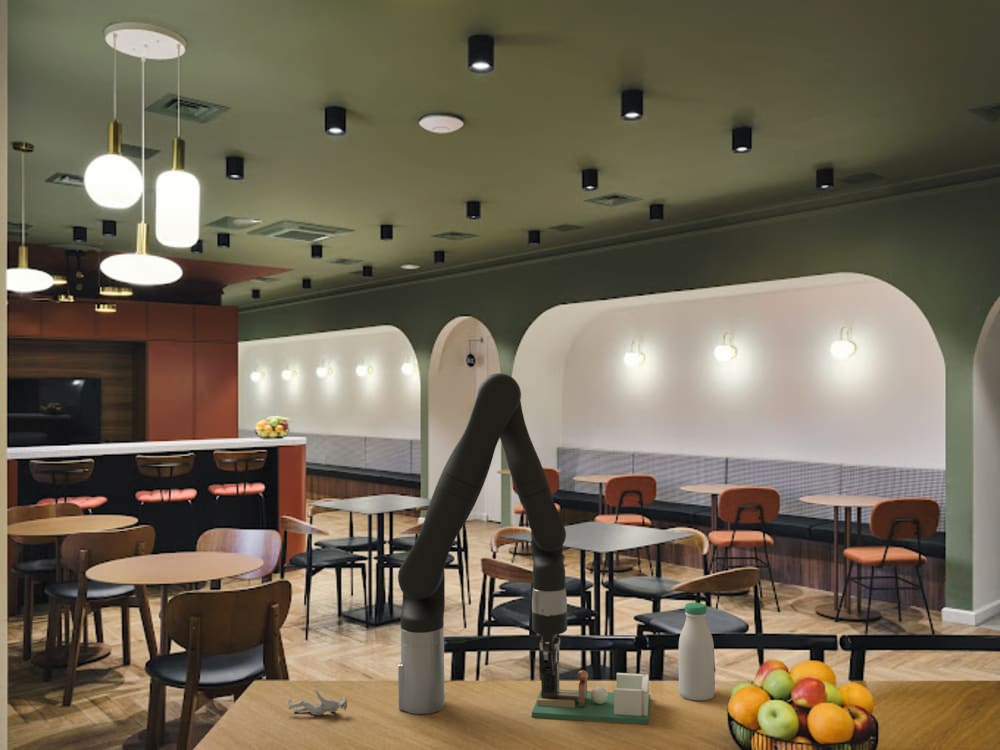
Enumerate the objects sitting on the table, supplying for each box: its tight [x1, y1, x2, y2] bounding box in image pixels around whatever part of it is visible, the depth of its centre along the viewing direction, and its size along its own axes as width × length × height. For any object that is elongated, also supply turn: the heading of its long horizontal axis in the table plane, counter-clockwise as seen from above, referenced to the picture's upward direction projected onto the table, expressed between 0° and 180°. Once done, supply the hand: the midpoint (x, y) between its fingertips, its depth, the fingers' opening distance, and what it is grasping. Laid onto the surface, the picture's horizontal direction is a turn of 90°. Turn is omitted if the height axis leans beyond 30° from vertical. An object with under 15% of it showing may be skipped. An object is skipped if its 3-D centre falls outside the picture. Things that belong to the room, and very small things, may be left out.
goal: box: [613, 672, 650, 716], centre depth 184 cm, size 7×10×5 cm, turn 169°
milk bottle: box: [678, 602, 716, 702], centre depth 193 cm, size 8×8×20 cm
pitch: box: [531, 688, 651, 725], centre depth 186 cm, size 24×14×2 cm, turn 79°
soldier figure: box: [288, 688, 348, 716], centre depth 185 cm, size 8×5×12 cm
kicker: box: [540, 659, 589, 707], centre depth 187 cm, size 10×6×8 cm, turn 79°
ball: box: [591, 685, 608, 704], centre depth 186 cm, size 4×4×4 cm
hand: (550, 688), depth 188 cm, fingers closed on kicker, 3 cm apart
